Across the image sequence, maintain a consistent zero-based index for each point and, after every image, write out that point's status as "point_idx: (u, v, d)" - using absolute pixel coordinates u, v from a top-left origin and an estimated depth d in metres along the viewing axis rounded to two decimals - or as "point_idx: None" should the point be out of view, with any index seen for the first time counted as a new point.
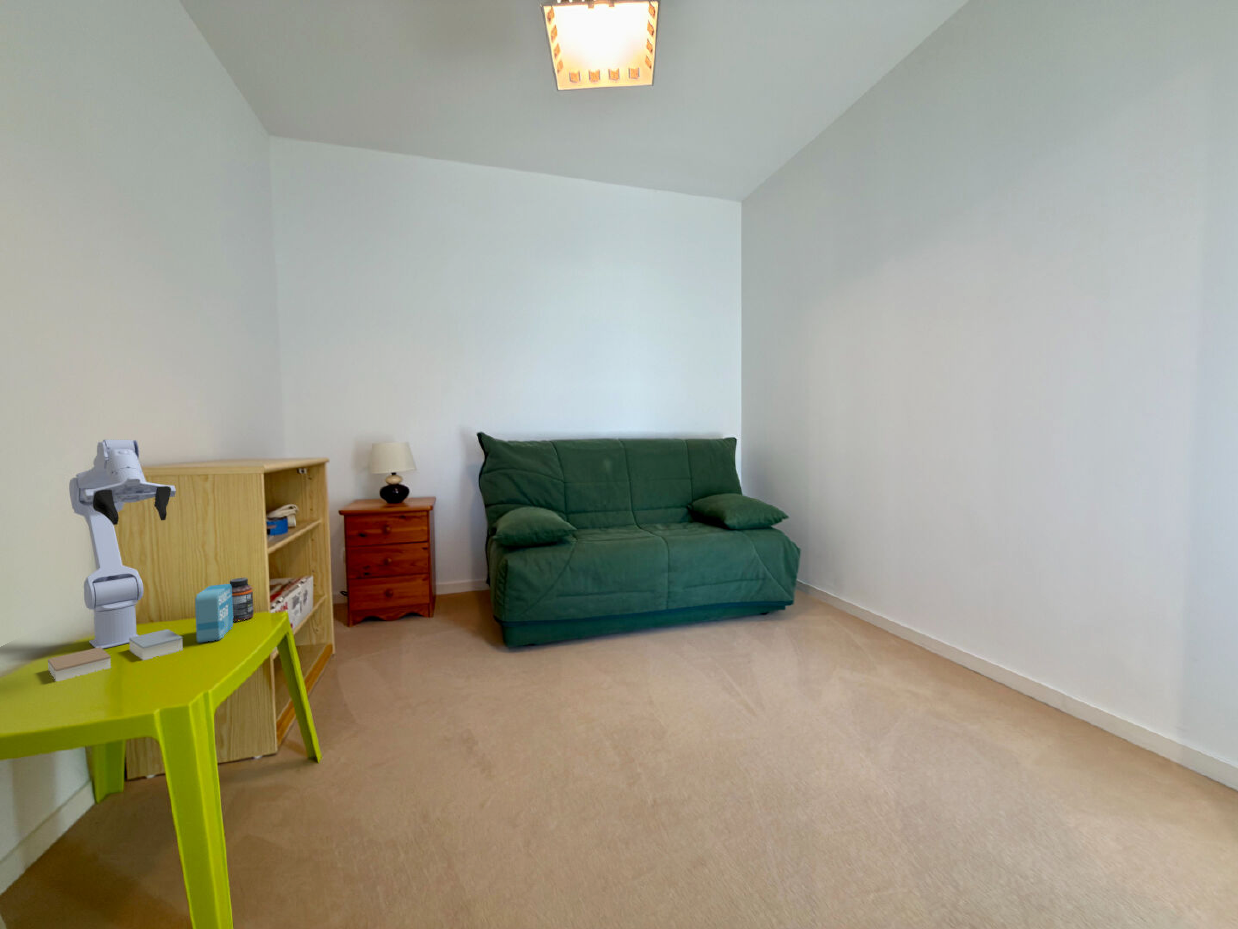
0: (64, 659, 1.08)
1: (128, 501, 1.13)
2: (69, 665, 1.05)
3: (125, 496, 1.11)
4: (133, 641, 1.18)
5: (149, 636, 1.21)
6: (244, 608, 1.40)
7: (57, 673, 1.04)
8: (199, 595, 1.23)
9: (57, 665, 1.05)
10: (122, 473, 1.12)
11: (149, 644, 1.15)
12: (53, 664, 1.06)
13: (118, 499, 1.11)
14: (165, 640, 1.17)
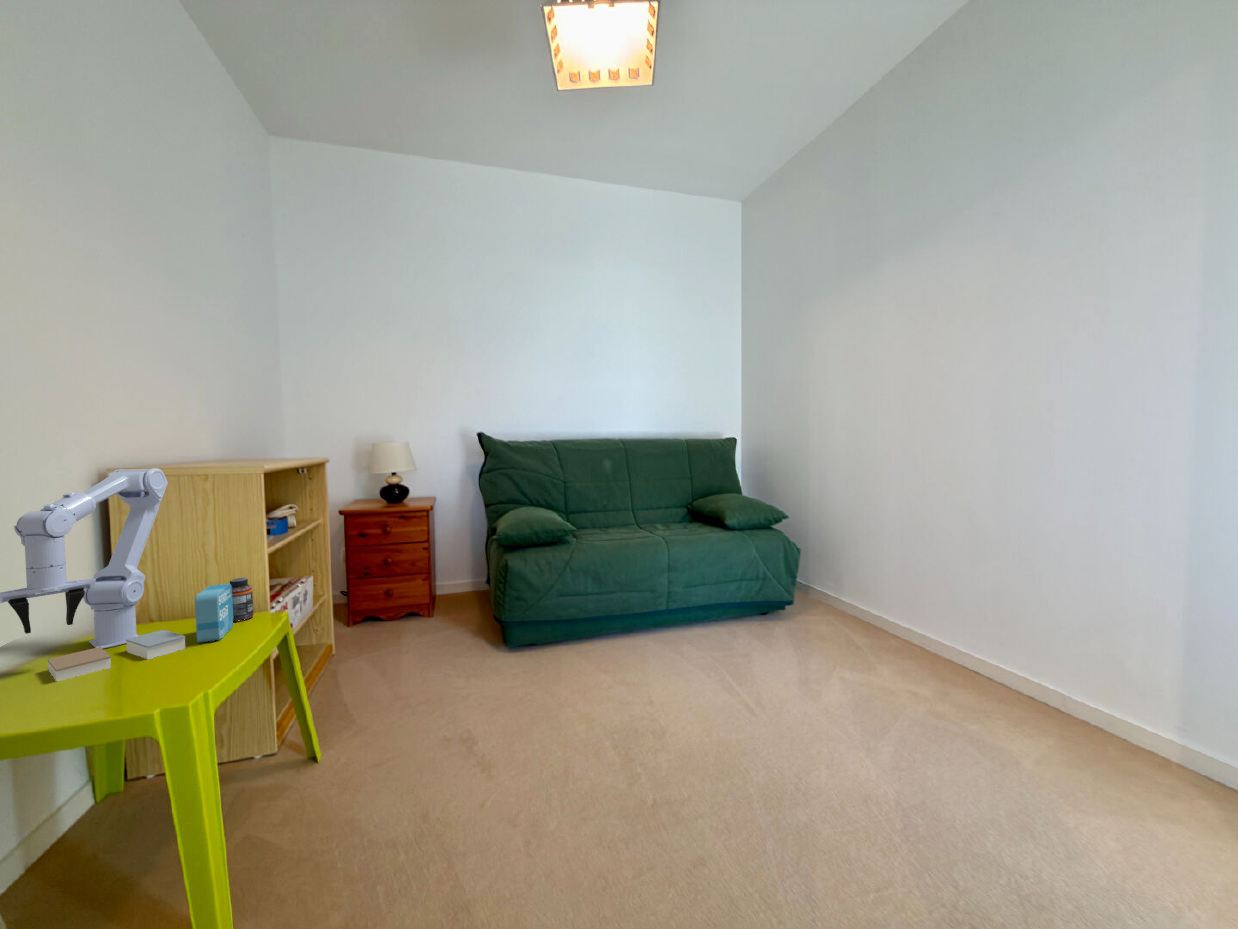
0: (64, 659, 1.08)
1: None
2: (69, 665, 1.05)
3: None
4: (132, 642, 1.17)
5: (147, 636, 1.20)
6: (244, 608, 1.40)
7: (57, 673, 1.04)
8: (199, 595, 1.23)
9: (57, 665, 1.05)
10: (40, 575, 1.07)
11: (153, 643, 1.15)
12: (53, 664, 1.06)
13: None
14: (168, 639, 1.18)
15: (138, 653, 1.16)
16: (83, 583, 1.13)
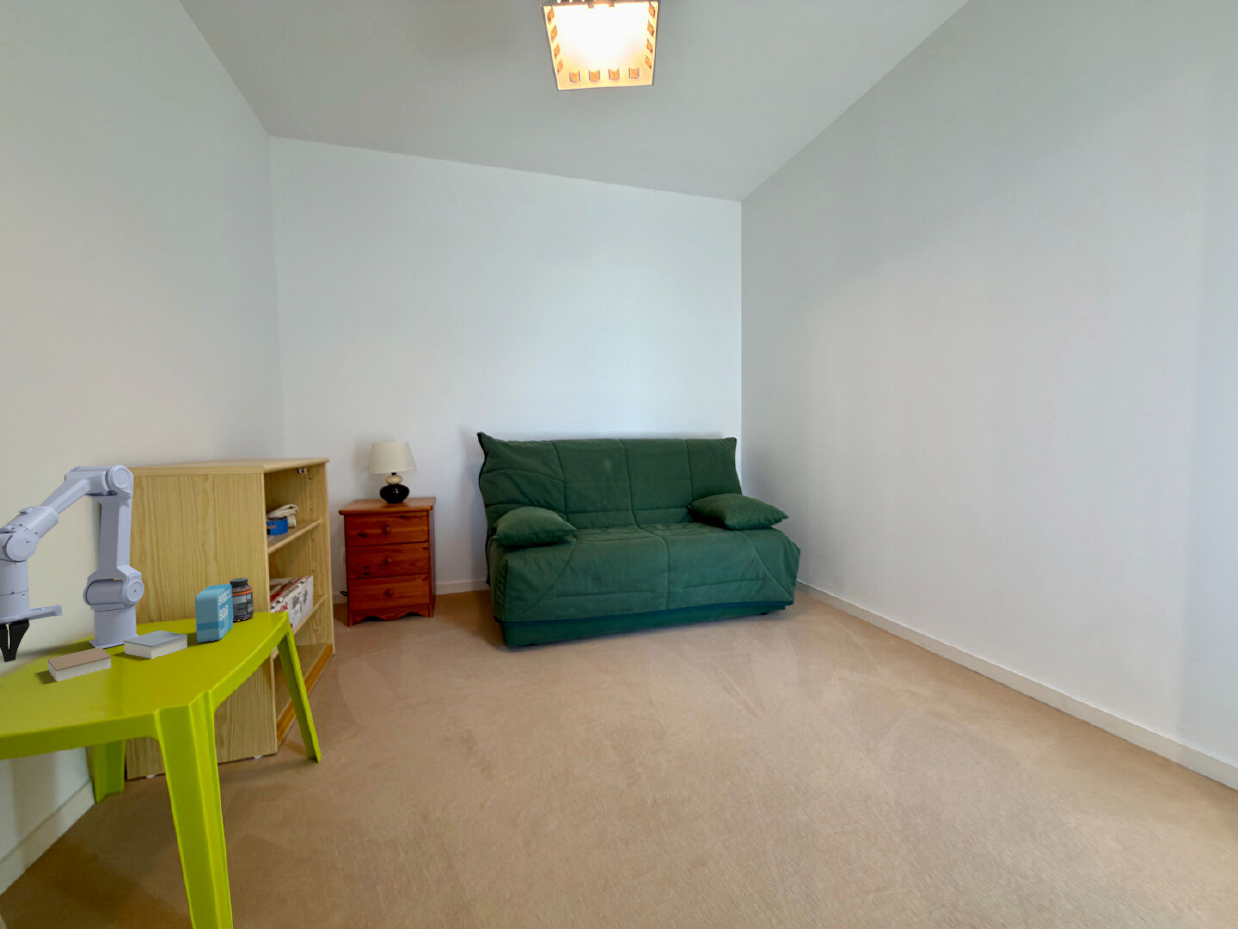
0: (64, 659, 1.08)
1: None
2: (69, 665, 1.05)
3: None
4: (132, 642, 1.17)
5: (146, 637, 1.20)
6: (244, 608, 1.40)
7: (57, 673, 1.04)
8: (199, 595, 1.23)
9: (57, 665, 1.05)
10: None
11: (156, 643, 1.16)
12: (53, 664, 1.06)
13: None
14: (170, 638, 1.18)
15: (139, 653, 1.16)
16: (48, 610, 1.05)
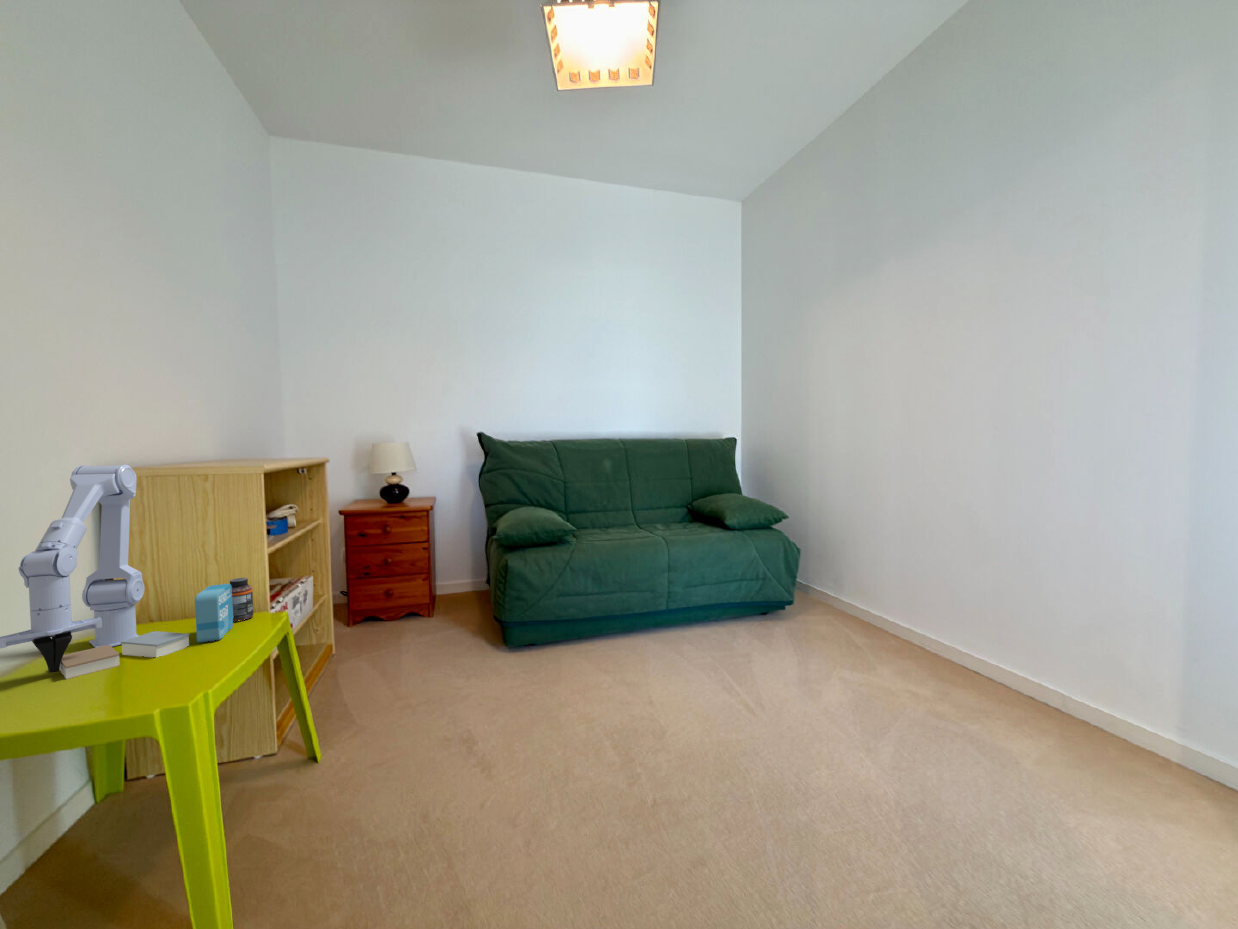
0: (74, 656, 1.10)
1: None
2: (79, 662, 1.06)
3: None
4: (132, 643, 1.16)
5: (144, 637, 1.20)
6: (244, 608, 1.40)
7: (67, 670, 1.05)
8: (199, 595, 1.23)
9: (67, 662, 1.06)
10: (44, 617, 1.04)
11: (160, 642, 1.16)
12: (63, 661, 1.07)
13: None
14: (173, 637, 1.19)
15: (141, 653, 1.16)
16: (89, 623, 1.10)
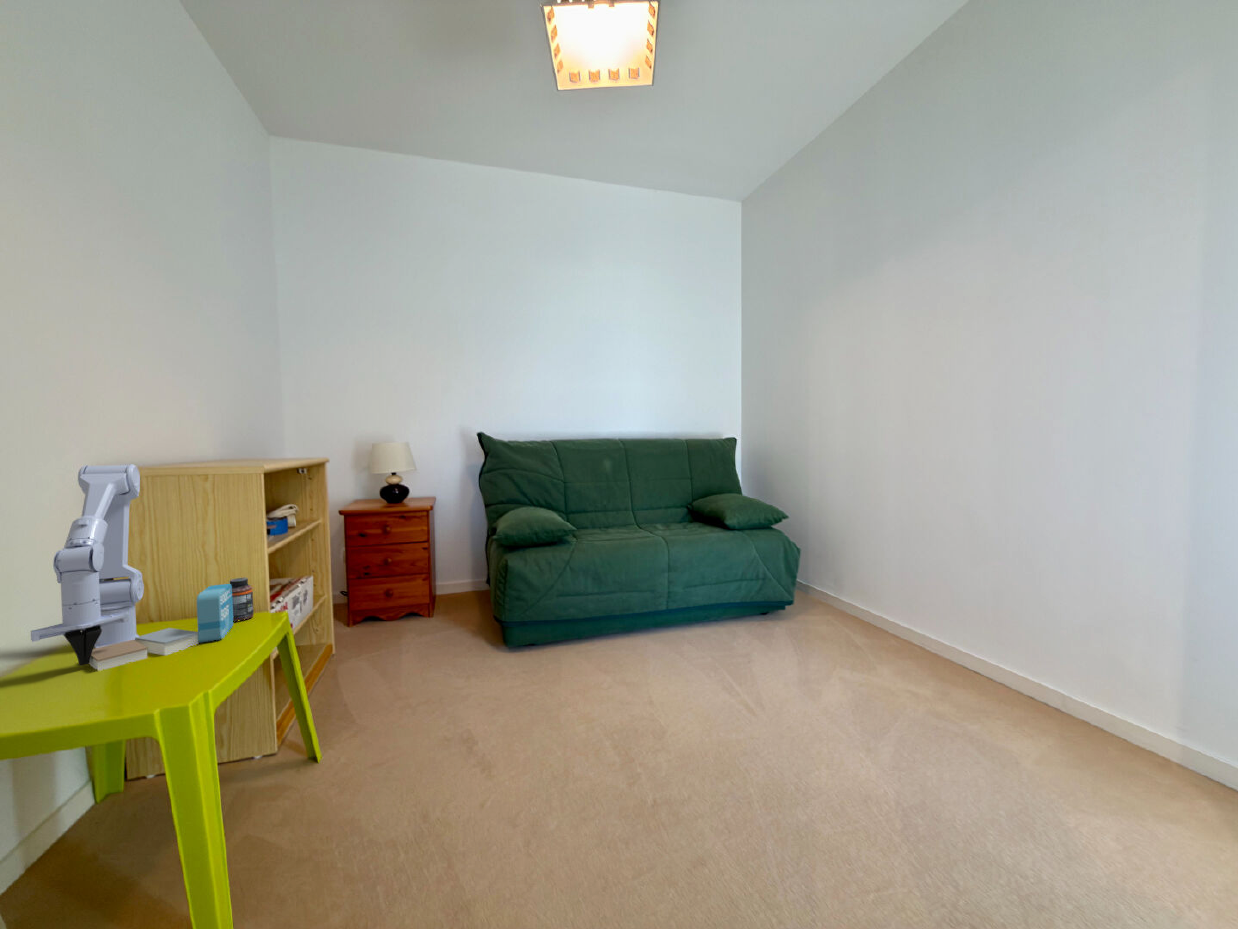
0: (102, 650, 1.13)
1: None
2: (109, 656, 1.10)
3: None
4: (144, 639, 1.19)
5: (157, 634, 1.22)
6: (244, 608, 1.40)
7: (99, 663, 1.08)
8: (200, 595, 1.24)
9: (97, 656, 1.10)
10: (75, 611, 1.07)
11: (169, 640, 1.18)
12: (93, 655, 1.11)
13: None
14: (182, 635, 1.20)
15: (152, 650, 1.18)
16: (117, 617, 1.13)
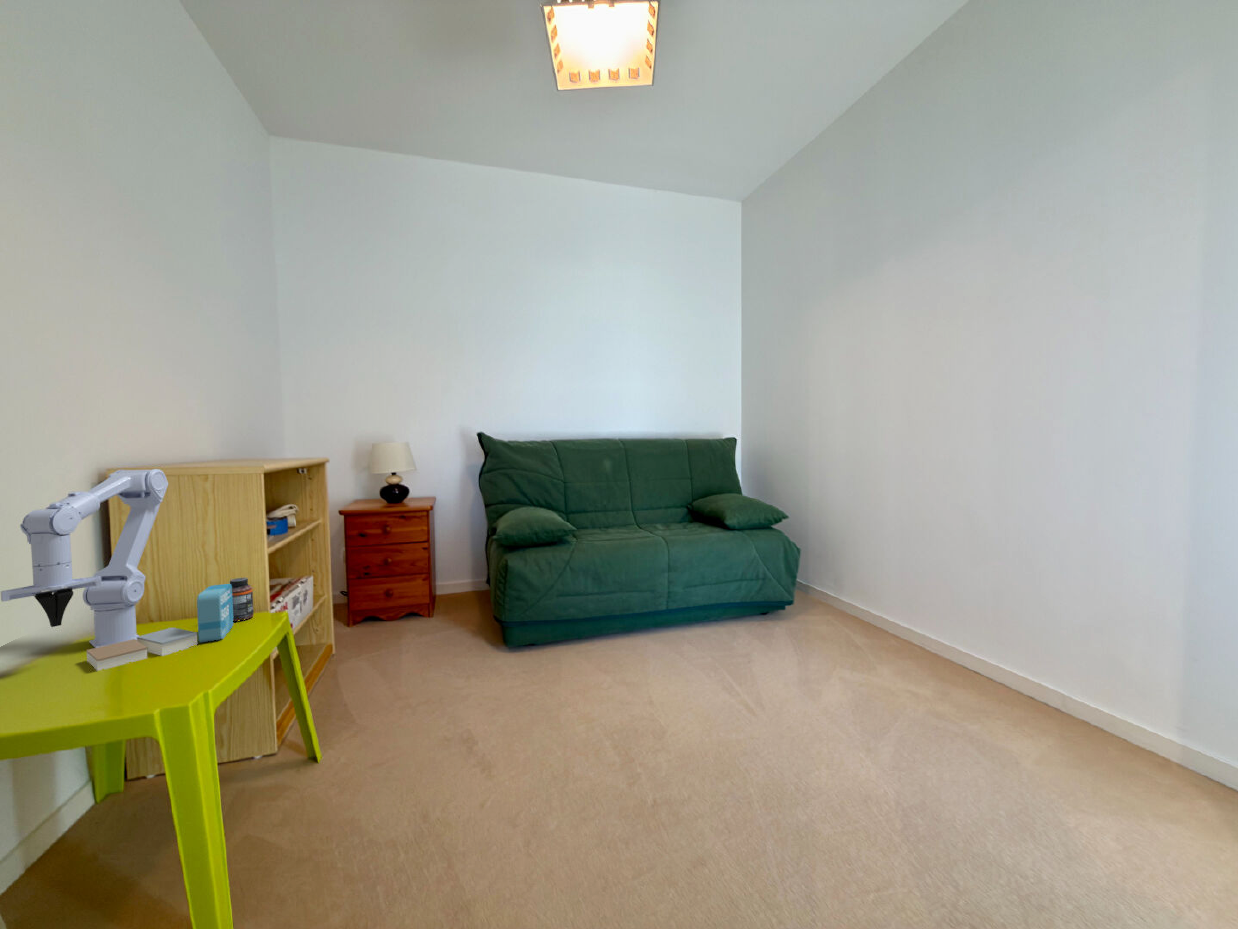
0: (102, 650, 1.13)
1: None
2: (109, 655, 1.10)
3: None
4: (145, 639, 1.19)
5: (158, 634, 1.22)
6: (244, 608, 1.40)
7: (98, 663, 1.08)
8: (201, 595, 1.24)
9: (97, 655, 1.10)
10: (46, 573, 1.08)
11: (167, 640, 1.17)
12: (93, 655, 1.11)
13: None
14: (181, 636, 1.20)
15: (151, 650, 1.18)
16: (89, 581, 1.14)
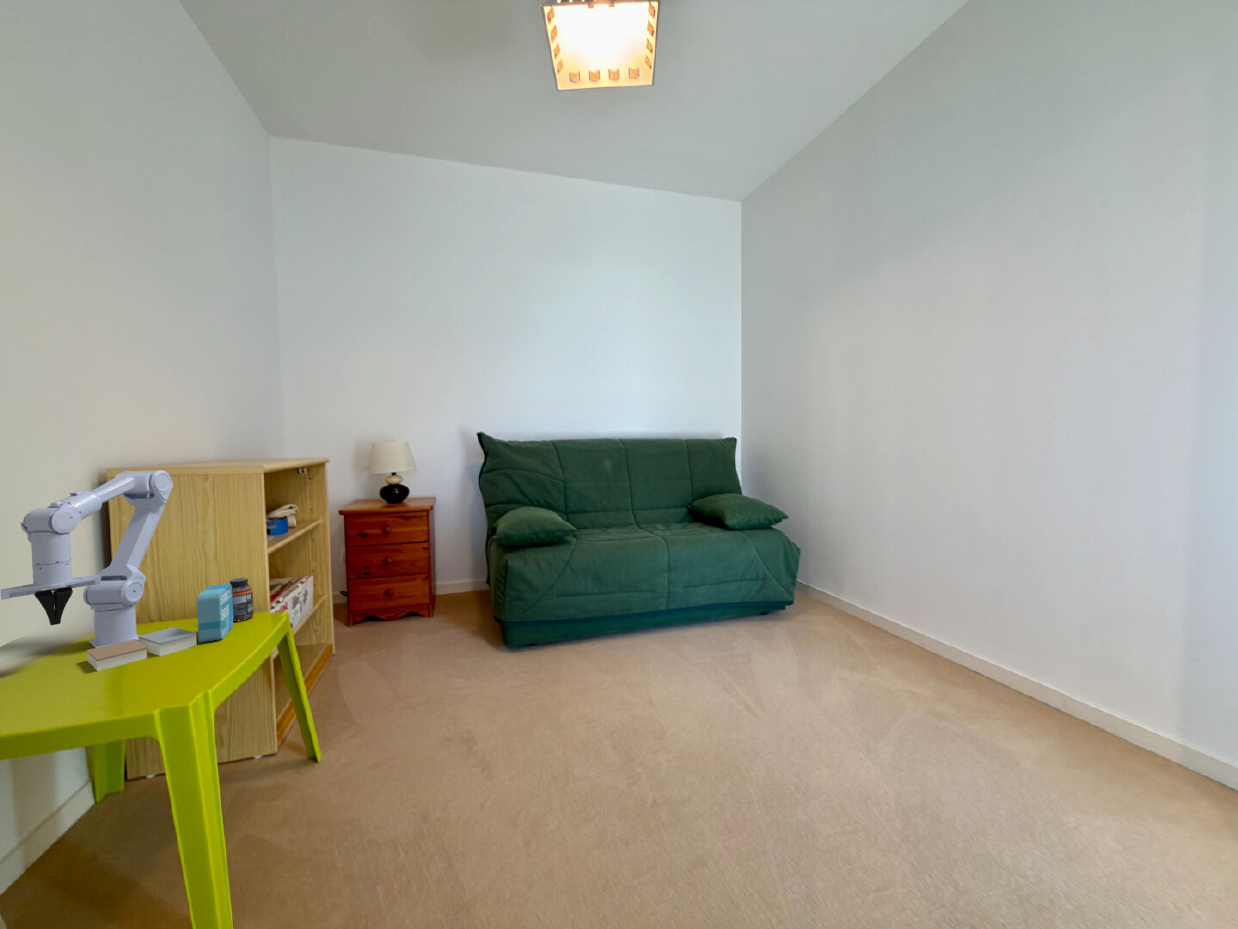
0: (103, 650, 1.13)
1: None
2: (109, 655, 1.10)
3: None
4: (145, 639, 1.19)
5: (159, 634, 1.22)
6: (244, 608, 1.40)
7: (98, 663, 1.08)
8: (201, 595, 1.24)
9: (97, 655, 1.10)
10: (46, 571, 1.08)
11: (165, 640, 1.17)
12: (93, 654, 1.11)
13: None
14: (180, 636, 1.20)
15: (150, 650, 1.18)
16: (88, 579, 1.15)
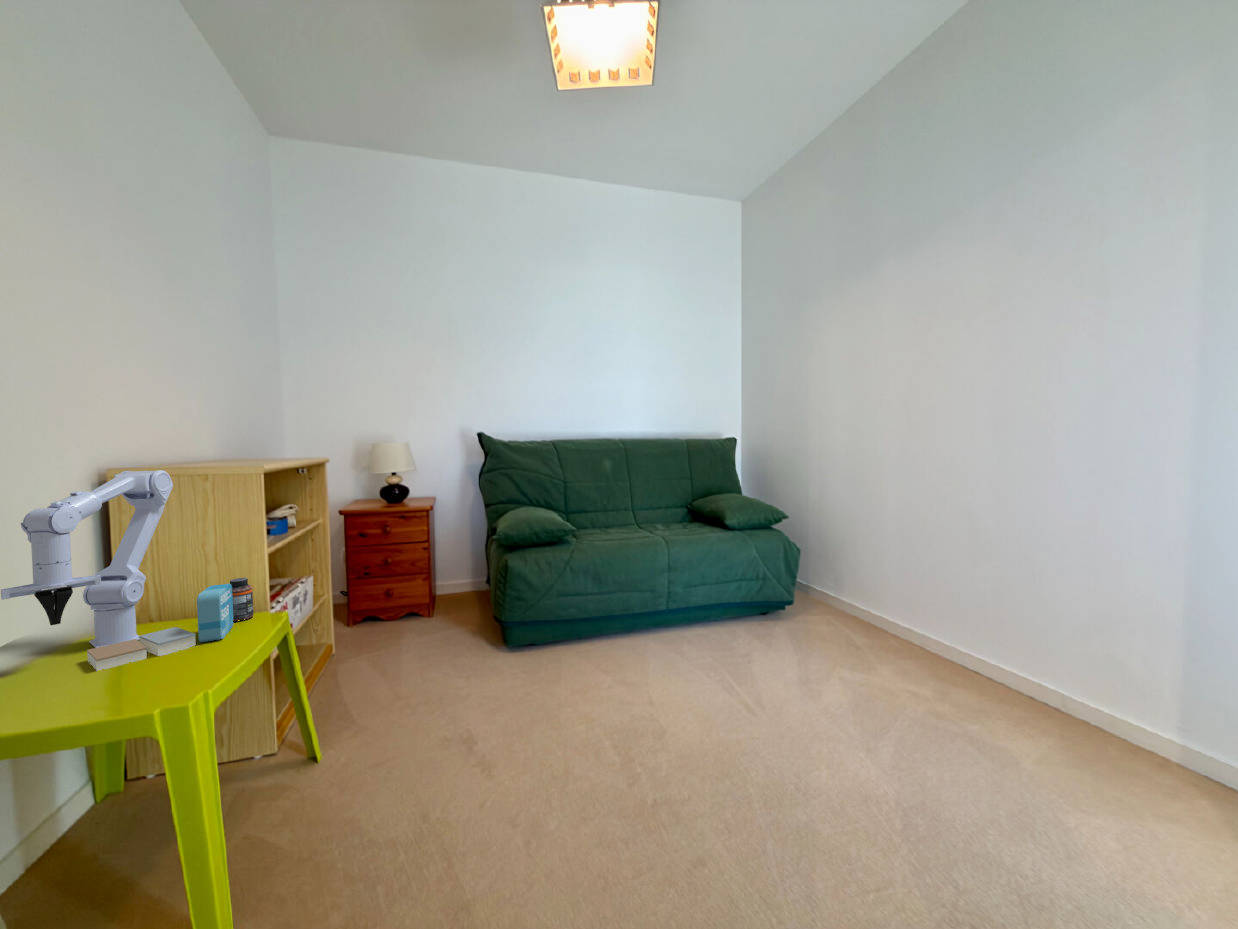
0: (103, 650, 1.13)
1: None
2: (108, 655, 1.10)
3: None
4: (145, 638, 1.19)
5: (160, 633, 1.22)
6: (244, 608, 1.40)
7: (98, 663, 1.08)
8: (201, 595, 1.24)
9: (97, 655, 1.10)
10: (46, 571, 1.08)
11: (164, 641, 1.17)
12: (93, 654, 1.11)
13: None
14: (179, 637, 1.20)
15: (150, 650, 1.18)
16: (88, 579, 1.15)
